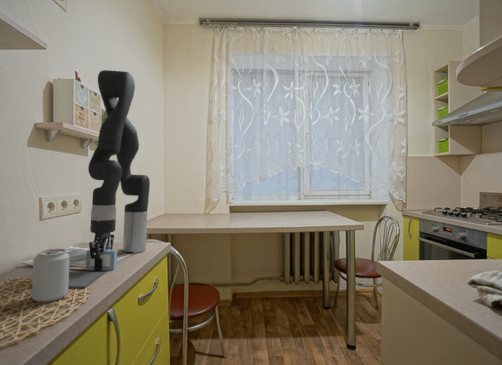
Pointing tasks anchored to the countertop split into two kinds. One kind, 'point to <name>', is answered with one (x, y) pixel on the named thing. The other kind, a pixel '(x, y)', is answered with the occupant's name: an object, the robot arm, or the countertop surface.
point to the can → (50, 275)
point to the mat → (82, 279)
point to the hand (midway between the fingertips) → (101, 267)
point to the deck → (103, 260)
